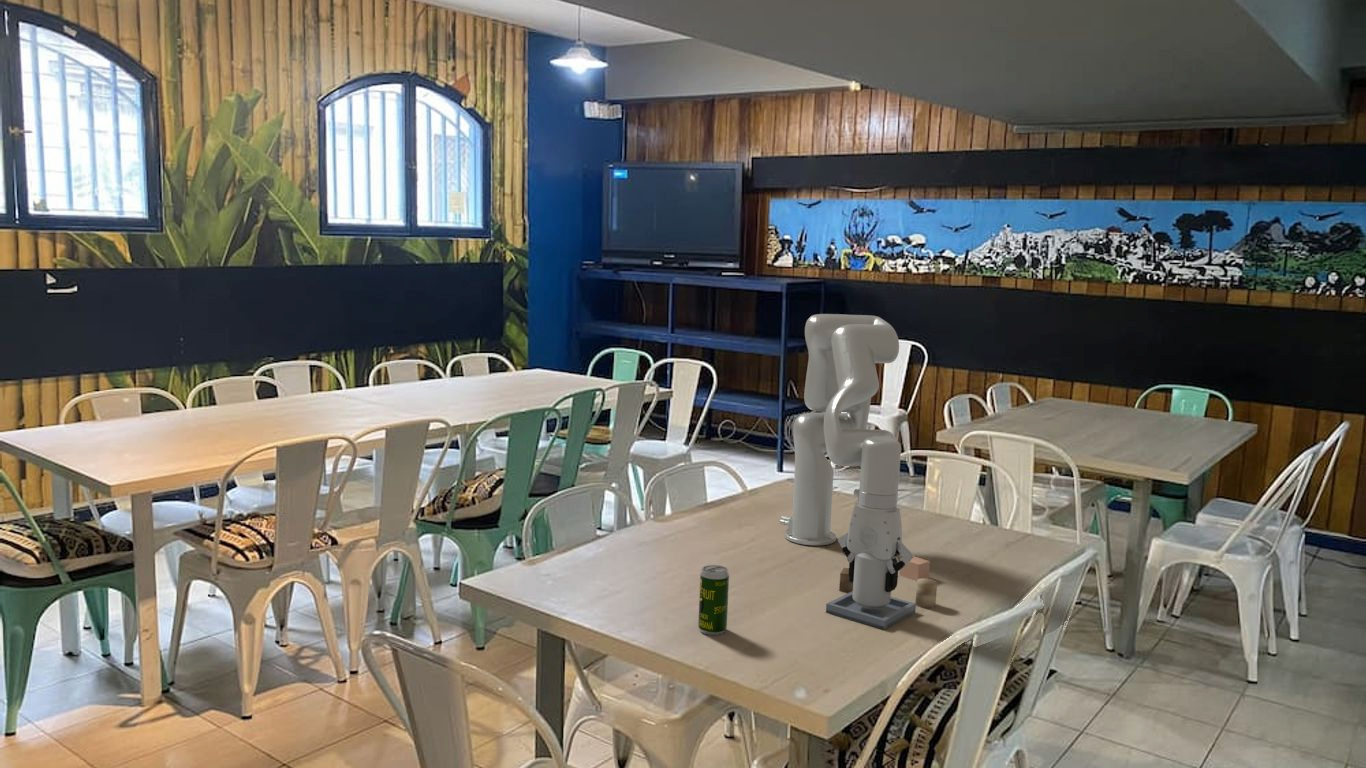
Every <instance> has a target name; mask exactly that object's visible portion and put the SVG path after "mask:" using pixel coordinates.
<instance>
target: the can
mask: <svg viewBox="0 0 1366 768" xmlns="http://www.w3.org/2000/svg"><path fill="white" fill-rule="evenodd" d="M862 550H864V552H861V553H859V554H855V566H854V581H853V600H854V601H855V602H856V603H857V604H858V605H859V606H861V607H865V608H870V609H880V608H884V607H885V606H886V605H887V604H889V603H890V599H891V597H892V591H891V592H889V593H888V592H886V591H885V583H886V573H887V572H889V570H888V567H887V565H886V561H882V560H879V559H877V558H876V557H875V556H873V555H872V554H871V553H872V552H873V551H870V550H866V549H862ZM892 561H893V559H892Z"/></svg>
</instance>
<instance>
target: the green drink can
mask: <svg viewBox="0 0 1366 768" xmlns="http://www.w3.org/2000/svg"><path fill="white" fill-rule="evenodd" d="M699 576H700V578H699V595H698V596H699V598H698V622H697V623H698V624H697V625H698V627H697V628H698V629H699V632H701V634H705V635H706V636H707V635H708V636H720V635H723V634H725V632H726V630H727V628H728V627H727V626H728V608H729V607H728V605H729V589H730V588H729V587H730V586H729V585H730V582H729V581H730V575H729V569H728V568H727V567H726V566H722V565H716V564H711V565H710V564H708V565H706V566H702V567H701V571H700V575H699Z"/></svg>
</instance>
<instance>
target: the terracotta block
mask: <svg viewBox="0 0 1366 768" xmlns="http://www.w3.org/2000/svg"><path fill="white" fill-rule="evenodd" d="M902 558H903V557H900V559H899V562H900V561H901V559H902ZM930 564H931V563H930V560H927V559H924V558H921V557H918V556H915V555H913V559H912V560H911V561H910V562H909V563H908V564H907V565H906V566H904V567H903V568H902V569H901V570H899V571H898V576H900V577H903V578H906V579H908V580H911V579H912V581H914V580H915V582H917V580H918V579H921V578H927V579H930V576H929V575H930Z"/></svg>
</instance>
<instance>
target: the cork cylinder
mask: <svg viewBox="0 0 1366 768" xmlns="http://www.w3.org/2000/svg"><path fill="white" fill-rule="evenodd" d="M937 588H938V582H937V581H936V580H935V579H932V578H928V579H927V578H921V579H918V580H917V581H916V593H915V604H916V606H917V607H919V608H923V609H934V608H936V602H937V592H938V591H937Z"/></svg>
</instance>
